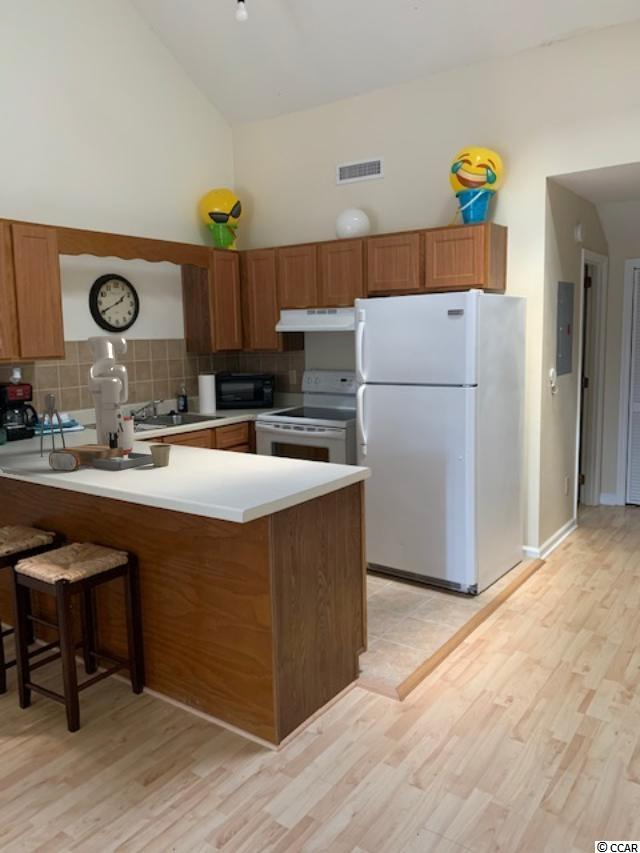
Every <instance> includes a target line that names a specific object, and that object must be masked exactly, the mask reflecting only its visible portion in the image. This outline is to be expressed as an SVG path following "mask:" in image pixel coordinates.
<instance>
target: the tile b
mask: <svg viewBox="0 0 640 853" xmlns="http://www.w3.org/2000/svg"><path fill="white" fill-rule="evenodd" d="M121 459H125V458H120V457H116V458H111V459H110V461H117V462H120V460H121Z"/></svg>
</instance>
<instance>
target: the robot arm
mask: <svg viewBox="0 0 640 853" xmlns="http://www.w3.org/2000/svg"><path fill="white" fill-rule="evenodd" d="M86 344H87V348H88V350H89V352H90V354H91V356H92V359H93V364H92V365H91V366H90V368H89V370H88V371H87V387H88V391H89V392H90V393H91V395H92V402H93V406H94V415H95V416H94V417H95V432H96V444H98V445H103V444H102V439H101V424H102V431H103V432H104V434H105V435H107V436H108V439H109V447H110V449H115V448H118V442H117V439H118V437H119V436H121V435H122V432H124V419H123V417H124V414H123V411H122V409H121V404H124V403H127V402H128V400H129V386H128V385H129V384H128V381H129V380H128V371H127V367H126V366H125V365H123V364H116V356H115V355H124V354H126V353H127V350H128V344H127V339H126V338H125V337H124V336H123V335H99V336H90V337H88V338H87V340H86ZM100 419H101V424H100ZM114 434H115V435H114Z"/></svg>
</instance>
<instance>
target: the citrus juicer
mask: <svg viewBox="0 0 640 853" xmlns="http://www.w3.org/2000/svg"><path fill="white" fill-rule="evenodd" d="M123 419H124V432H122V435H121V436H119V437H118V439H117V442H118V447H123V455H128V452H132V451H133V449H134V444H135V443H134V442H135V429H138V425H136V424H135V418H131V417H129V416H123ZM100 424H101V419H100ZM114 435H115V434H114ZM101 439H102V444H103V445H108V446H109V439H108V436H107V435H105V434H104V432H103V431H102V424H101Z"/></svg>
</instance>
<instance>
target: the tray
mask: <svg viewBox="0 0 640 853" xmlns="http://www.w3.org/2000/svg"><path fill="white" fill-rule="evenodd" d="M127 458H128V459H131V460H126V461H122V462H117V461H108V460H100V459H93V466H92V467H93V468H97V469H104V470H106V469H107V470H113V471H124V470H129V469H135V468H138V467H141V466H142V467H144V466H147V465H151V464H153V459H152V454H149V453H143V452H128V454H127Z"/></svg>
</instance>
